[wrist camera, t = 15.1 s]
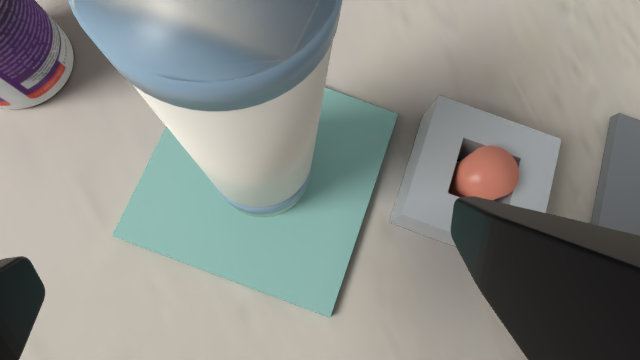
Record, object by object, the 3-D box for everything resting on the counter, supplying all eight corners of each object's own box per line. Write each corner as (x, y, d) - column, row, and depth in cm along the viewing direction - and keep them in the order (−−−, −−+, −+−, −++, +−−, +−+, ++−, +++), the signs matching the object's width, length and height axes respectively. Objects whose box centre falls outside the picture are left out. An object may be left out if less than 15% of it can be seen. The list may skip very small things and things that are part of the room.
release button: (486, 213, 20) (512, 204, 18) (440, 197, 20) (461, 185, 18) (497, 170, 21) (524, 156, 18) (453, 154, 21) (474, 138, 18)
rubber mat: (329, 316, 19) (330, 317, 19) (115, 236, 20) (112, 235, 19) (396, 116, 22) (398, 114, 22) (208, 48, 22) (206, 44, 22)
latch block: (506, 265, 20) (534, 263, 18) (389, 222, 21) (402, 214, 18) (532, 154, 22) (561, 139, 20) (423, 114, 22) (439, 94, 20)
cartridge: (324, 198, 20) (390, 33, 7) (234, 232, 20) (106, 126, 6) (290, 116, 21) (289, -174, 8) (203, 146, 20) (32, -115, 7)
